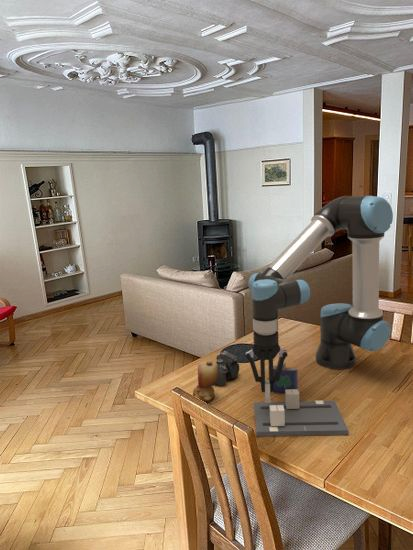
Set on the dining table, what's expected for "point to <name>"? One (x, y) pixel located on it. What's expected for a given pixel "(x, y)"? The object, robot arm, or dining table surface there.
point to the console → (301, 419)
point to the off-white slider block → (292, 399)
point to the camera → (226, 368)
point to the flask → (286, 379)
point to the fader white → (277, 415)
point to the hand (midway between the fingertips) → (267, 400)
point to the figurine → (206, 381)
